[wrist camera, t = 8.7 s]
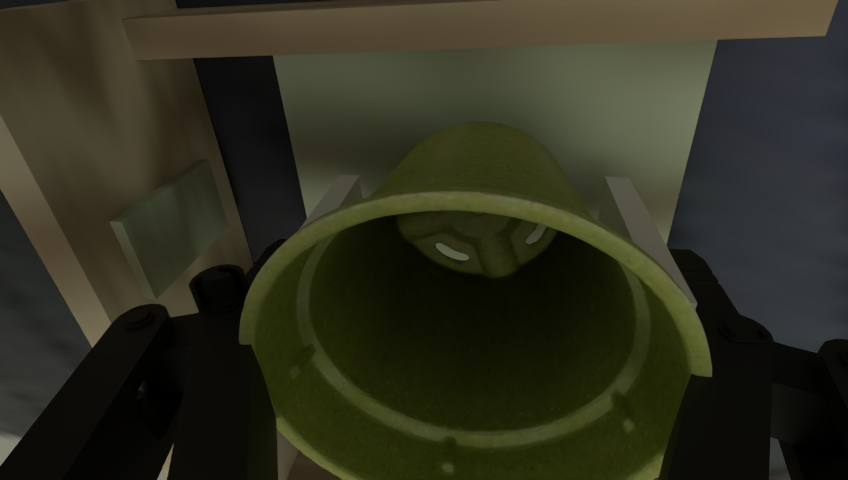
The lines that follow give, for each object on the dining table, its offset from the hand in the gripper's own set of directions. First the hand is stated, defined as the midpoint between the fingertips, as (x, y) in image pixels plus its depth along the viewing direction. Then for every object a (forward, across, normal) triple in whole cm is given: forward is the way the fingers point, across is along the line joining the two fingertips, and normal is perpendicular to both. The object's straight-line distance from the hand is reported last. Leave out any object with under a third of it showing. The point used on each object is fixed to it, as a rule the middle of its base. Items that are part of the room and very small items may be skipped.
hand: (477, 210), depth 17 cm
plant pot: (0, 0, 0) cm, 0 cm away
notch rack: (+3, -2, -6) cm, 7 cm away
